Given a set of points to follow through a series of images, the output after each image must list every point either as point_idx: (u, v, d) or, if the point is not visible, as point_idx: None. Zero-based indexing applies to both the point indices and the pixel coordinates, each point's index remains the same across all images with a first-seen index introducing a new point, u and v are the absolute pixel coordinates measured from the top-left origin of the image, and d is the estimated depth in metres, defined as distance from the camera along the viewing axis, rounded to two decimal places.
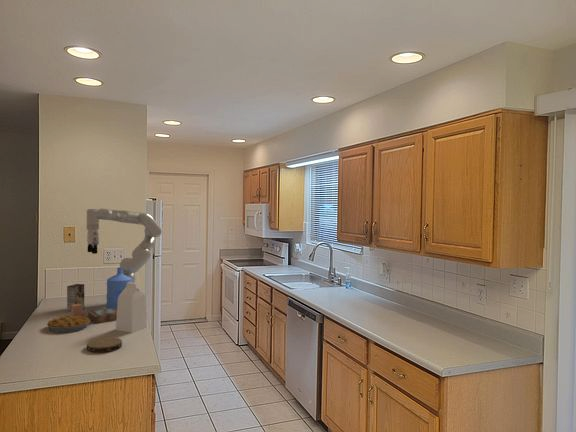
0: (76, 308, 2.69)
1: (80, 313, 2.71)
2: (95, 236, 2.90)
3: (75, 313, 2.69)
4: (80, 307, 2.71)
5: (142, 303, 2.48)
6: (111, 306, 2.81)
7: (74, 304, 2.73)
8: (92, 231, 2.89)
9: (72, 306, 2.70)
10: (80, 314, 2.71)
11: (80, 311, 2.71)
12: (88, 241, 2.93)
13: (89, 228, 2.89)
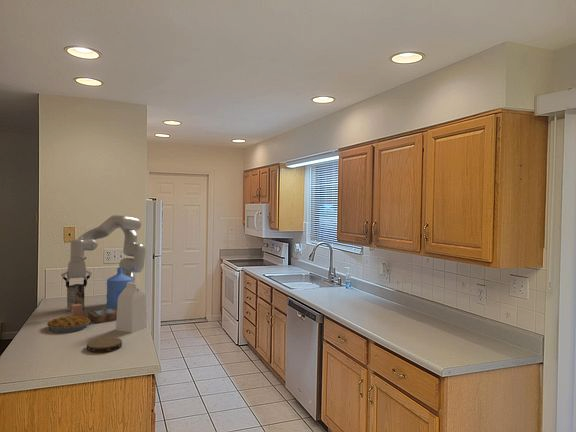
0: (76, 308, 2.69)
1: (80, 313, 2.71)
2: None
3: (75, 313, 2.69)
4: (80, 307, 2.71)
5: (142, 303, 2.48)
6: (111, 306, 2.81)
7: (74, 304, 2.73)
8: None
9: (72, 306, 2.70)
10: (80, 314, 2.71)
11: (80, 311, 2.71)
12: (75, 275, 2.69)
13: (82, 260, 2.70)
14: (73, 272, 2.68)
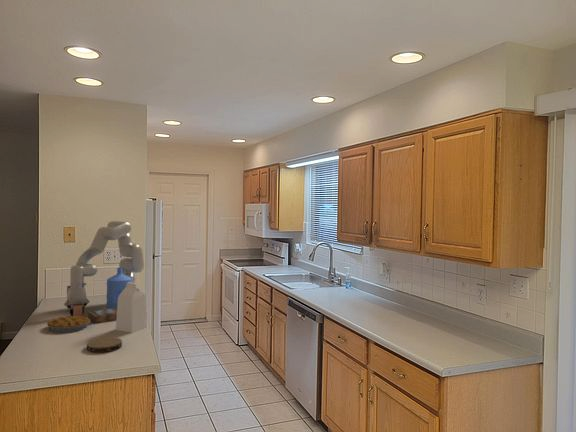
0: (76, 308, 2.69)
1: (80, 313, 2.71)
2: None
3: (75, 313, 2.69)
4: (80, 307, 2.71)
5: (142, 303, 2.48)
6: (111, 306, 2.81)
7: None
8: None
9: None
10: (80, 314, 2.71)
11: (80, 311, 2.71)
12: (75, 301, 2.69)
13: (82, 286, 2.71)
14: (73, 299, 2.68)
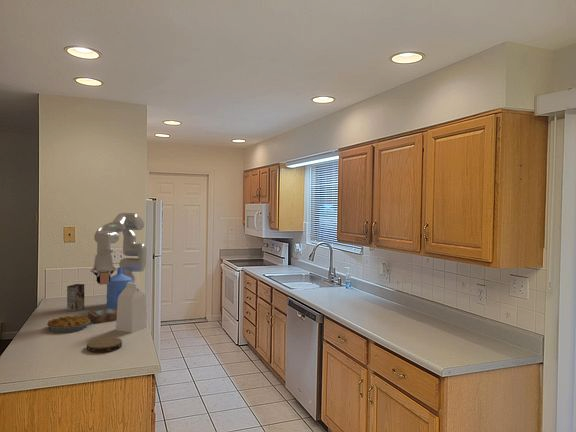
0: (103, 275, 2.65)
1: (107, 280, 2.66)
2: None
3: (102, 280, 2.64)
4: (107, 274, 2.66)
5: (142, 303, 2.48)
6: (111, 306, 2.81)
7: None
8: (111, 256, 2.68)
9: None
10: (107, 281, 2.66)
11: (107, 278, 2.66)
12: (102, 268, 2.65)
13: (109, 253, 2.66)
14: (100, 265, 2.64)
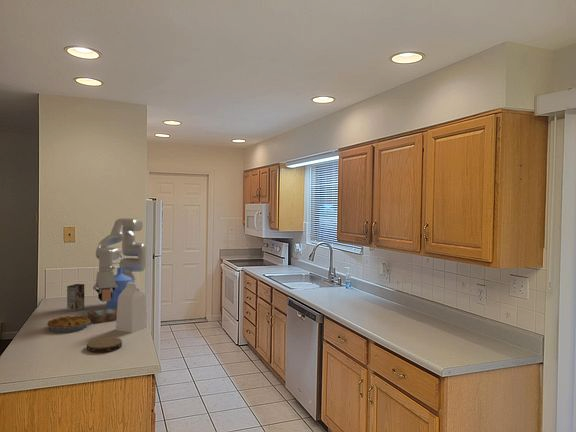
0: (105, 292, 2.64)
1: (109, 297, 2.66)
2: None
3: (104, 297, 2.64)
4: (109, 291, 2.66)
5: (142, 303, 2.48)
6: (111, 306, 2.81)
7: None
8: (113, 273, 2.68)
9: None
10: (109, 298, 2.66)
11: (109, 295, 2.66)
12: (104, 285, 2.64)
13: (111, 270, 2.66)
14: (102, 282, 2.63)
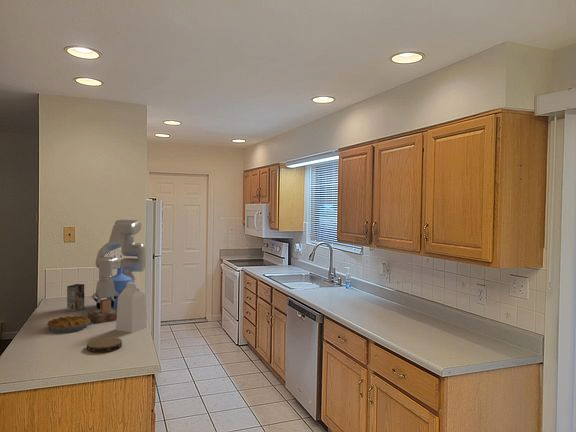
0: (105, 303, 2.65)
1: (109, 308, 2.67)
2: None
3: (104, 309, 2.65)
4: (109, 302, 2.66)
5: (142, 303, 2.48)
6: None
7: None
8: (113, 282, 2.69)
9: (101, 301, 2.66)
10: (109, 309, 2.67)
11: (109, 306, 2.66)
12: (104, 295, 2.65)
13: (111, 280, 2.66)
14: (102, 292, 2.64)
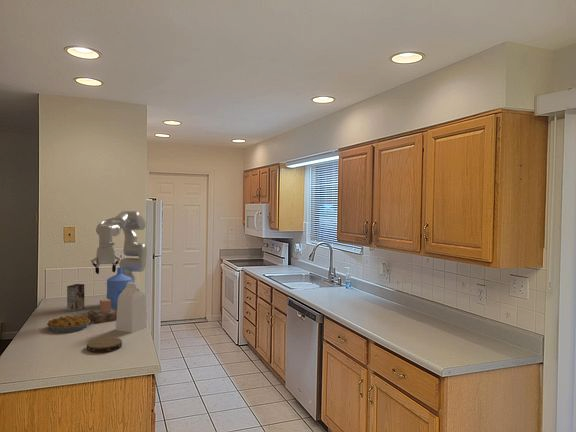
0: (105, 303, 2.65)
1: (109, 308, 2.67)
2: None
3: (104, 309, 2.65)
4: (109, 302, 2.66)
5: (142, 303, 2.48)
6: (111, 306, 2.81)
7: None
8: (113, 249, 2.72)
9: (101, 301, 2.66)
10: (109, 309, 2.67)
11: (109, 306, 2.66)
12: (105, 261, 2.68)
13: (111, 246, 2.69)
14: (102, 258, 2.67)
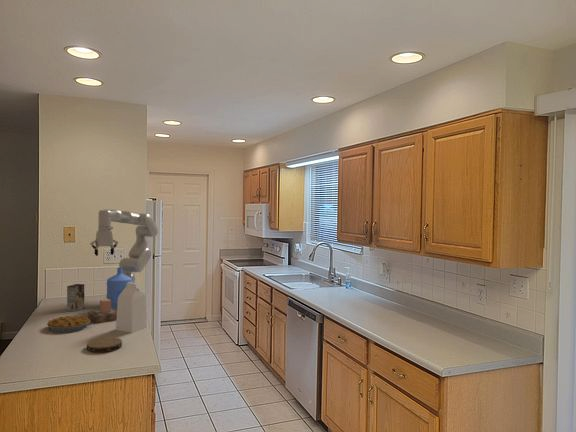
0: (105, 303, 2.65)
1: (109, 308, 2.67)
2: None
3: (104, 309, 2.65)
4: (109, 302, 2.66)
5: (142, 303, 2.48)
6: (111, 306, 2.81)
7: None
8: (111, 232, 2.88)
9: (101, 301, 2.66)
10: (109, 309, 2.67)
11: (109, 306, 2.66)
12: (103, 243, 2.84)
13: (109, 230, 2.86)
14: (101, 241, 2.83)
